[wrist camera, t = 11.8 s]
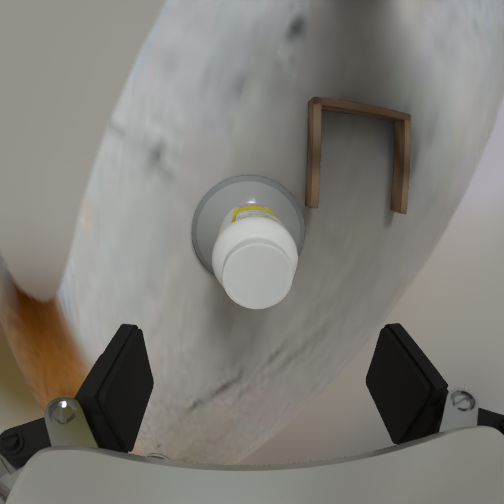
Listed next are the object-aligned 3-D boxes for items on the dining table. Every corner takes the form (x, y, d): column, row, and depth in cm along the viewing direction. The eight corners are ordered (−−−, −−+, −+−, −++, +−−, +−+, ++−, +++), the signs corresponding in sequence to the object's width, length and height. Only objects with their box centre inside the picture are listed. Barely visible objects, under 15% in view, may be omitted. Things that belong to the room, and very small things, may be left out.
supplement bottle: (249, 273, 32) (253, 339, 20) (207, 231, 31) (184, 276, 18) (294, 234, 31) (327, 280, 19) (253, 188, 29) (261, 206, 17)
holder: (308, 101, 27) (313, 96, 25) (399, 117, 28) (410, 114, 26) (305, 204, 31) (310, 207, 29) (395, 210, 31) (406, 213, 29)
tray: (191, 175, 30) (190, 175, 29) (306, 177, 30) (308, 177, 29) (194, 282, 33) (193, 285, 32) (299, 283, 34) (301, 286, 33)
